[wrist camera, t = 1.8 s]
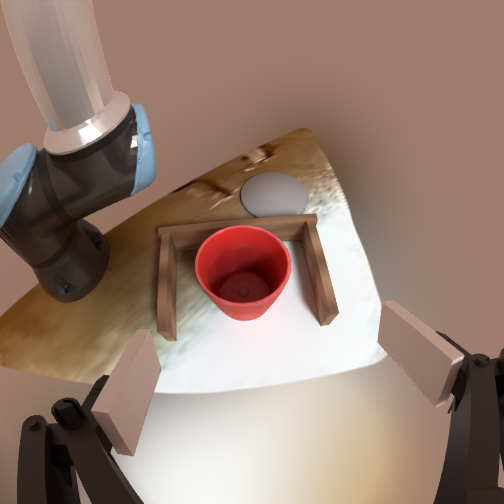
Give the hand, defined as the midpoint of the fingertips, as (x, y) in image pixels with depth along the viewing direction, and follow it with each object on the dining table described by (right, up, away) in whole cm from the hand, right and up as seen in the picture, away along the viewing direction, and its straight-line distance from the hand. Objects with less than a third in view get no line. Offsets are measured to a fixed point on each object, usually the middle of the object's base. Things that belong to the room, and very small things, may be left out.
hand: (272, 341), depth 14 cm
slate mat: (+3, +15, +35) cm, 38 cm away
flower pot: (-2, -2, +25) cm, 25 cm away
